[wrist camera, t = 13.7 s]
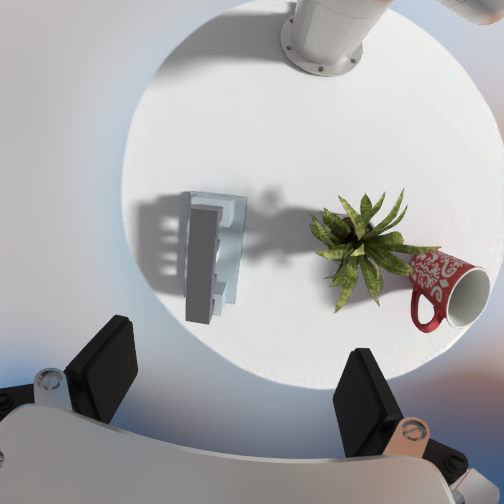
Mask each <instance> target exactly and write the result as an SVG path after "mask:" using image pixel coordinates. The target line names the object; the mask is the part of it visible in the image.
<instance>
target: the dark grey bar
mask: <svg viewBox="0 0 504 504" xmlns="http://www.w3.org/2000/svg"><path fill="white" fill-rule="evenodd" d="M222 216H223V207H221V206H212V205H203V204H199V205H197V206H194V207H192V208H191V214H190V227H189V242H188V260H187V282H186V321H190V322H196V323H202V324H208V325H209V323H210V320H211V317H212V315H213V312H214V307H215V299H213V291H214V287H215V284H216V281H217V274H215V266H216V254H217V252H218V250H219V246H220V239H218V232H219V222H220V221H221V220H222Z"/></svg>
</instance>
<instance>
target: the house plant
mask: <svg viewBox="0 0 504 504" xmlns="http://www.w3.org/2000/svg"><path fill="white" fill-rule="evenodd" d="M403 191H404V189H403ZM403 191H402V193H401V195H400V197H399V198H398V200H397V202H396V204H395V206H394V208H393V209H392V211H391V212H390V214H389V215H388V216H387V217H386V218H385V219H384V220H383V221H382V222H381V223H380V224H378V225H377V226H376V227H374V225H373V224H372V222H371V221H370V219H371V218H372V217H373V216H374V215H375V214H376V213H377V212H378V210H379V209H380V208H381V205H382V202H383V200H384V197H385V193H384V194H383V196H382V197H381V198H380V200H379V201H378V203H377V204H376V205H375V206H374V207H373V208H372V204H371V201H370V200H369V198H368V197H367V195H366V194H365V195H364V197H363V198H362V200H361V206H360V209H361V215H360V214H358V213H357V212H356V211H355V210H354V209H353V208H352V207H351V206H350V205H349V204H348V203H347V201H346V200H344V199H343V198H341V197H340V196H339V195H338V196H339V199H340V201H341V203H342V205H343V207H344V209H345V210H346V212H347V214H339V215H333V214H331V213H330V212H329V211H328V210H327V209H325V208H324V210H325V212H326V213H324V212H322V211H320V212H321V213H322V216H323V221H324V223H325V224H326V225H325V227H324V228H323V227H322V226H321V225H320V223H319V222H318V221H317V220H316V219H315V218H314V217H313V216H312V215H311V214H310V213H309V214H310V215H311V217H312V220H313V222H314V224H315V225H316V226H314V225H310V224H309V225H310V227H311V230H312V233H313V234H314V236H315V237H316V238H317V239H319V240H321V241H323V242H324V244H325V245H326V248H327V250H323V251H321V252H318V253H316V252H315V253H316V254H318V255H320V256H322V257H325V258H328V259H332V260H333V261H334V262H335V263H336V264H338V265H340V266H339V268H338V270H337V272H336V274H335V275H334V276H330V277H326V278H334V280H333V282H332V284H331V286H338V285H339V284H341V283H342V285H341V296H340V299H339V301H338V303H337V305H336V309H335V312H334V313H336V312H337V311H338V310H339V309H341V308H342V307H343V306H344V305H345V303H346V302H347V300H348V299H349V297H350V295H351V293H352V291H353V288H354V286H355V284H356V281H357V278H358V276H357V268H358V267H359V266H360V267H361V270H362V273H363V275H364V279H365V283H366V285H367V288H368V290H369V292H370V293H371V295H372V297H373V298H374V300H375V301H376V302H377V304H378V305H379V300H378V298H377V294H376V290H377V291H378V293H379V291H380V290H381V288H382V287H383V281H382V278H381V276H380V274H379V269H378V267H377V265H379V266H381V267H383V268H384V269H386V270H387V271H389V272H391V273H394V274H398V275H403V276H413V274H412V273H410V272H408V271H415V269H412V268H413V267H412V266H410V265H409V264H408V263H406V262H404V261H403V260H401V259H399V258H398V257H396V256H394V255H393V254H391V253H390V252H388V251H395V252H401V253H407V254H417V255H419V254H424V253H427V252H431V251H435V250H437V249H439V248H441V247H415V246H407V245H402V244H403V242H404V239H403V237H402V235H401V233H399V232H391V233H388V234H385V235H379V234H381V233H382V232H384V231H386V230H388V229H390V228H392V227H393V226H395V225H397V224H398V223H399V222H400V221H401V220H402V218H403V216H404V214H405V212H406V210H407V206H406V208H405V209H404V211H403V212H402V214H401V215H400V216H399V217H398V219H397V220H396V221H394V222H393V223H392V224H391V225H389V226H387V225H388V224H389V223H390V222H392V220H393V219H394V218H395V217H396V215H397V213H398V211H399V207H400V204H401V202H402V199H403ZM323 207H324V206H323ZM386 226H387V227H386ZM384 227H385V228H384ZM383 228H384V229H383ZM380 254H381V255H380ZM382 255H383V256H384V257H383V256H382ZM385 257H386V258H385ZM387 258H388V259H389V260H388V259H387ZM369 259H371V260H372V261H373V263H374V264H375V267H376V269H375V268H374V266H373V265H372V263H371V262H370V261H369ZM390 260H391V261H390ZM392 261H393V262H392ZM376 264H377V265H376ZM405 266H406V267H405ZM407 267H408V268H407ZM347 268H348V269H347ZM346 270H347V272H346ZM324 279H325V278H324ZM342 281H343V282H342ZM329 287H330V286H329ZM379 306H380V305H379ZM334 313H333V314H334Z"/></svg>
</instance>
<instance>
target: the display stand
mask: <svg viewBox="0 0 504 504" xmlns="http://www.w3.org/2000/svg"><path fill="white" fill-rule="evenodd" d="M247 198H248V197H242V196H234V195H225V194H215V193H206V192H195V191H192V192H190V197H189V209H188V222H187V237H186V254H185V277H184V297H186V282H187V260H188V242H189V227H190V214H191V208H192V207H194V206H197V205H199V204H203V205H212V206H221V207H223V216H222V220H221V221H220V222H219V232H218V239H220V246H219V250H218V252H217V254H216V266H215V274H217V281H216V284H215V287H214V291H213V299H215V307H214V312H213V315H217V316H221V313H222V310H223V307H224V304H225V303H229V304H235V301H236V293H237V284H238V275H239V266H240V258H241V249H242V240H243V232H244V223H245V215H246V206H247Z"/></svg>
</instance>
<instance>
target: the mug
mask: <svg viewBox="0 0 504 504" xmlns="http://www.w3.org/2000/svg"><path fill="white" fill-rule="evenodd" d="M410 266H412V267H413V268H412V269H415V271H409V272H410V273H412V274H413V276H409V278H410V281H411V283H412V284H413V285H414V287H413V292H412V299H411V317H412V321H413V323H414V324H415V326H416V327H417V328H418V329H419V330H420V331H422V332H424V333H429V332H432V331H434V330H435V329H436V328H437V327H438V326H439V325H440V323H441V321H442V320H443V318H446V319H447V321H448V323H449V324H450V325H451V326H452V327H454V328H457V329H462V328H465V327H468V326H469V325H471V324H472V323H474V322H475V321H476V320H477V319H478V318H479V316H480V315H481V313H482V312H483V311H484V309H485V307H486V305H487V302H488V300H489V297H490V292H491V280H490V276H489V274H488V272H487V271H486V270H485V269H484V268H482V267H476V266H473V265H471V264H469V263H467V262H465V261H462V260H460V259H457V258H455V257H453V256H450V255H448V254H445V253H443V252H440V251H438V250H435V251H431V252H427V253H424V254H419V255H417V254H416V255H415V256H414V258H413V259H412V261H411V264H410ZM421 294H423V295H424V296H425V297H426V298H427V299H428V300H429V301H430V302H431V303H432V304H433V305H434V307H433V308H434V312H435V313H434V317H433V318H432V320H431V321H430V322H429V323H427V324H420V322H419V320H418V302H419V298H420V295H421Z"/></svg>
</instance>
